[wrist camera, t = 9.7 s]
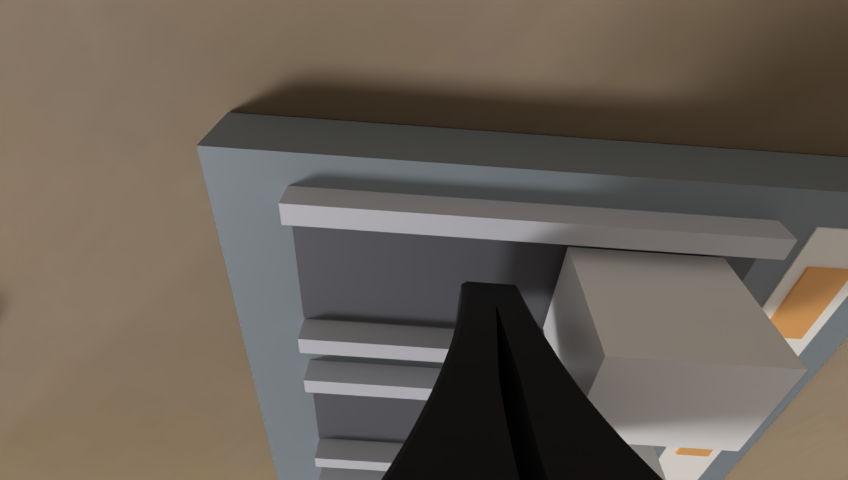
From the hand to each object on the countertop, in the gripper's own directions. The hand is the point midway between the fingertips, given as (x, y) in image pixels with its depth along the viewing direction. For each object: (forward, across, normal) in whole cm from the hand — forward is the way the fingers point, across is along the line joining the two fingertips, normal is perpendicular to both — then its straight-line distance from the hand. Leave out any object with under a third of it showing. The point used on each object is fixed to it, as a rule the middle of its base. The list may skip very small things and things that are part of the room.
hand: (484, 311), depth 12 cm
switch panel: (+3, -2, +6) cm, 8 cm away
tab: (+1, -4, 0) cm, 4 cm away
